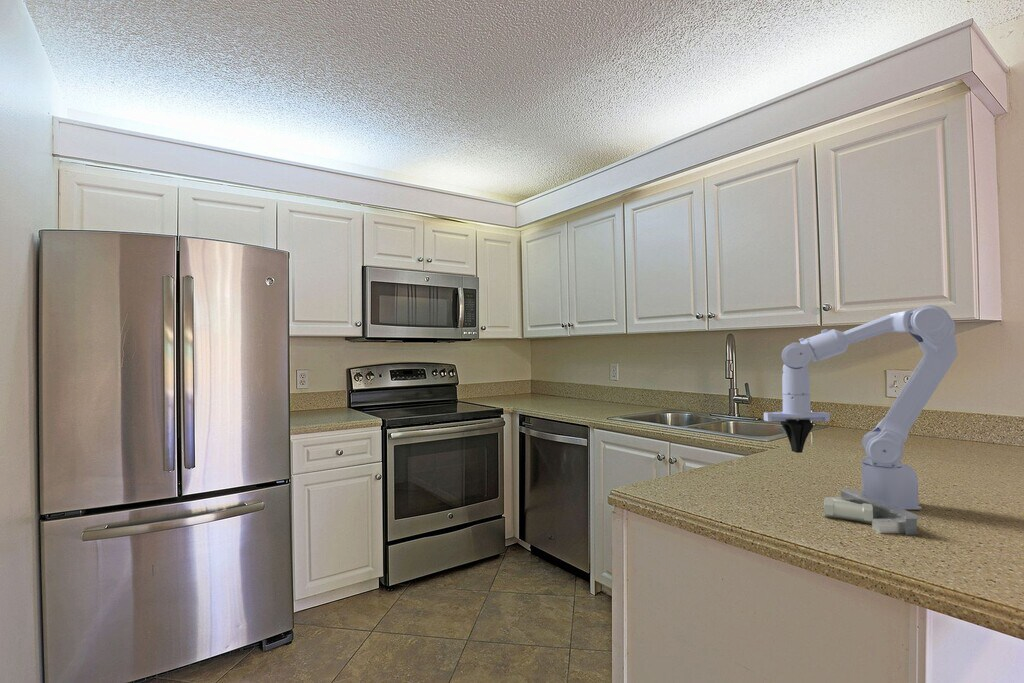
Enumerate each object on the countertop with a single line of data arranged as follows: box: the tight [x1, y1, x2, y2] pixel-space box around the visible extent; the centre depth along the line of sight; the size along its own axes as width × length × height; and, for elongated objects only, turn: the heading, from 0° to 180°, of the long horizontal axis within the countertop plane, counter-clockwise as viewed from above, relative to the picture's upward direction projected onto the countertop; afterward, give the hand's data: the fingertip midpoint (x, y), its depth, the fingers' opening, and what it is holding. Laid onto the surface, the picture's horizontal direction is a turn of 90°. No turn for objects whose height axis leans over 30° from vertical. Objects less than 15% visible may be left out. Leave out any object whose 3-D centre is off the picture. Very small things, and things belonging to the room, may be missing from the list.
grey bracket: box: [825, 488, 921, 536], centre depth 100 cm, size 7×18×4 cm, turn 0°
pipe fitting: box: [823, 496, 873, 525], centre depth 101 cm, size 8×4×7 cm
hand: (797, 451), depth 117 cm, fingers closed
